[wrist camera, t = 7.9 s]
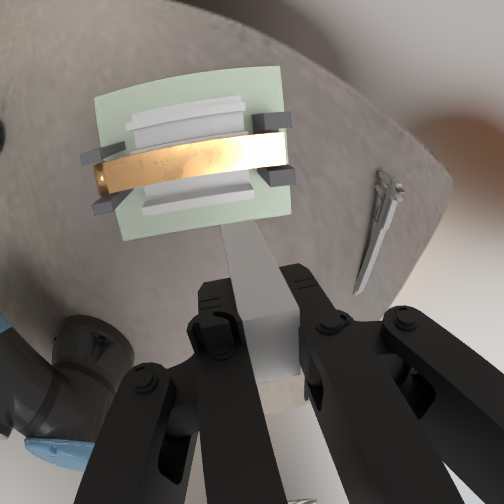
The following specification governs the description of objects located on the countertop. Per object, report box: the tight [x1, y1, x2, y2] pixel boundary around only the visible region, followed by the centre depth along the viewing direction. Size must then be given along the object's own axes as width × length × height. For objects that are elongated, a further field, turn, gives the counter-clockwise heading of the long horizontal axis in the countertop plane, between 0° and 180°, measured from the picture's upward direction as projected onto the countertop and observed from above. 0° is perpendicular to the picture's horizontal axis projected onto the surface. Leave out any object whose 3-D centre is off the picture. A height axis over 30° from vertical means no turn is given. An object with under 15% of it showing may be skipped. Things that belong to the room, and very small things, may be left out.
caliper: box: [353, 171, 406, 295], centre depth 37 cm, size 20×1×6 cm, turn 179°
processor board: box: [80, 66, 296, 241], centre depth 26 cm, size 21×18×10 cm
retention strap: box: [93, 131, 286, 196], centre depth 25 cm, size 18×3×4 cm, turn 96°
